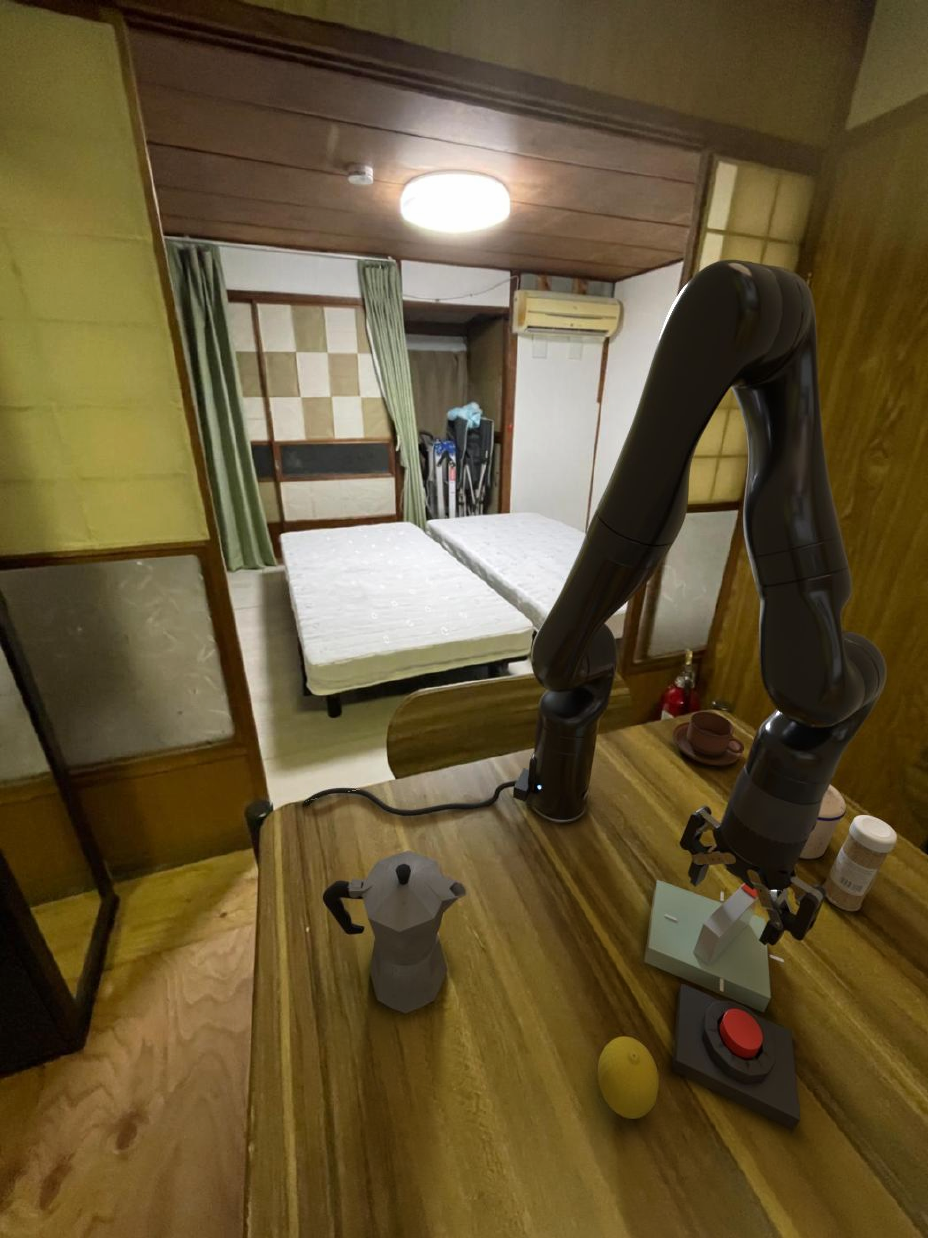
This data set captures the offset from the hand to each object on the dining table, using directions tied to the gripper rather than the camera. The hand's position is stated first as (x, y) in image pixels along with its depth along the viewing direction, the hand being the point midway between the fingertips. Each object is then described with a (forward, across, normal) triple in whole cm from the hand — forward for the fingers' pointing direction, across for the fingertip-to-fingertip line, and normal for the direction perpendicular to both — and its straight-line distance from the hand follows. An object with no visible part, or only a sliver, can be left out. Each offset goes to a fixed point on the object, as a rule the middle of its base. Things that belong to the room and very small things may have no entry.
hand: (729, 909), depth 60 cm
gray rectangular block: (+5, 0, 0) cm, 5 cm away
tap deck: (+8, -1, -1) cm, 8 cm away
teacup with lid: (+8, -3, +25) cm, 27 cm away
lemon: (+8, +3, -21) cm, 23 cm away
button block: (+8, +7, -9) cm, 14 cm away
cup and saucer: (+9, -22, +34) cm, 41 cm away
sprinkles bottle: (+8, +6, +21) cm, 23 cm away
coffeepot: (+8, -20, -33) cm, 40 cm away
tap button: (+4, +7, -9) cm, 12 cm away
